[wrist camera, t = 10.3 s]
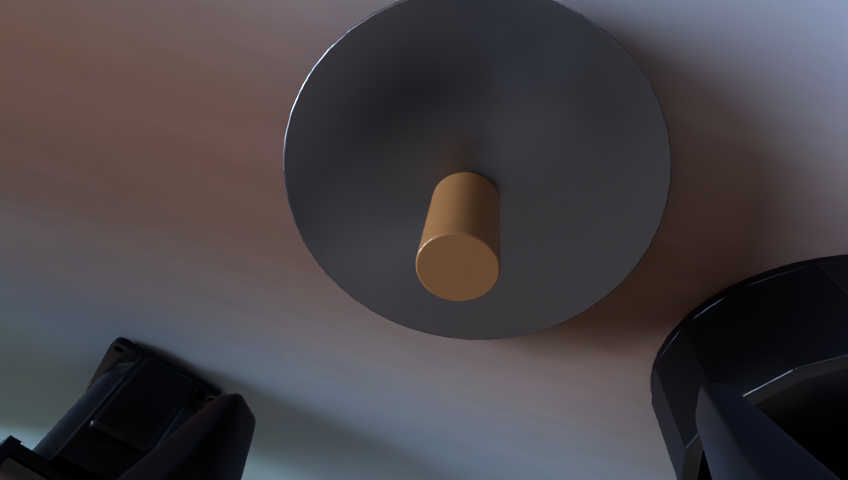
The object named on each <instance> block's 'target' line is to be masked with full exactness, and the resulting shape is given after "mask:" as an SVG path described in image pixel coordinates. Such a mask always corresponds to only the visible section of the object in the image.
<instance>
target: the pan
mask: <svg viewBox="0 0 848 480" xmlns="http://www.w3.org/2000/svg"><path fill="white" fill-rule="evenodd" d="M709 383H725V384H729V385H731V386H732V387H734V388H735V389H736V390H737V391H738V392H739V393H741V394H742V395H743V396H744V397H745V398H746V399H748V400H749V401H750V402H751V403H752V404H753V405H755V406H756V407H757V408H758V409H759V410H760V411H762V412H763V413H764V414H765V415H766V416H767V417H769V418H770V419H771V420H772V421H773V422H774V423H776V424H777V425H778V426H779V427H780V428H781V429H783V430H784V431H785V432H786V433H787V434H788V435H790V436H791V437H792V438H793V439H794V440H795V441H797V442H798V443H799V444H800V445H801V446H802V447H804V448H805V449H806V450H807V451H808V452H809V453H811V454H812V455H813V456H814V457H815V458H816V459H818V460H819V461H820V462H821V463H822V464H823V465H825V466H826V467H827V468H828V469H829V470H830V471H832V472H833V473H834V474H835V475H836V476H837V477H839V478H840V479H841V480H848V255H839V256H830V257H822V258H816V259H811V260H806V261H801V262H797V263H792V264H789V265H786V266H782V267H779V268H775V269H772V270H769V271H766V272H763V273H761V274H758V275H756V276H753V277H751V278H748V279H745V280H743V281H741V282H739V283H737V284H735V285H733V286H731V287H729V288H727V289H725V290H723V291H722V292H720V293H718V294H717V295H715V296H714V297H712V298H710V299H709V300H707V301H705V302H704V303H703V304H701V305H700V306H699V307H698V308H696V309H695V310H694V311H692V312H691V313H690V314H689V315H688V316H686V317H685V318H684V319H683V320H682V321H681V322H680V323H679V324H678V325H677V326H676V327H675V328H674V330H673V331H672V332H671V333H670V335H669V336H668V337H667V338H666V340H665V341H664V343H663V345H662V346H661V348H660V350H659V351H658V353H657V356H656V359H655V361H654V364H653V368H652V373H651V393H652V405H653V408H654V411H655V414H656V417H657V420H658V423H659V426H660V429H661V432H662V435H663V438H664V441H665V444H666V447H667V450H668V453H669V456H670V459H671V462H672V465H673V467H674V470H675V473H676V476H677V479H678V480H712V477H711V473H710V470H709V466H708V463H707V460H706V456H705V453H704V449H703V446H702V442H701V439H700V436H699V432H698V429H697V424H696V408H697V402H698V396H699V390H700V387H701V386H702V385H703V384H709Z"/></svg>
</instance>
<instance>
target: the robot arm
mask: <svg viewBox="0 0 848 480" xmlns="http://www.w3.org/2000/svg"><path fill="white" fill-rule="evenodd" d="M255 424H256V423H255V417H254V415H253V413H252V411H251V410H250V408H249V406H248V405H247V403H246V401H245V400H244V398H243V397H242V396H241V395H240V394H237V393H230V394H223V393H222V392H221V391H219V390H217V389H216V388H214V387H212V386H210V385H209V384H207V383H205V382H203V381H201V380H200V379H198V378H196V377H194V376H192V375H191V374H189V373H187V372H185V371H183V370H182V369H180V368H178V367H176V366H174V365H173V364H171V363H169V362H167V361H165V360H164V359H162V358H160V357H158V356H156V355H155V354H153V353H151V352H149V351H147V350H146V349H144V348H142V347H140V346H138V345H137V344H135V343H133V342H131V341H129V340H128V339H125V338H122V337H119V338H117V339H116V340H115V341H114V342H113V343H112V344H111V345H110V347H109V348H108V350H107V352H106V354H105V356H104V358H103V360H102V362H101V364H100V365H99V367H98V369H97V371H96V373H95V375H94V377H93V379H92V380H91V382H90V384H89V386H88V388H87V390H86V392H85V394H84V395H83V396H82V397H81V398H80V399H79V400H78V401H77V402H76V404H75V405H74V406H73V407H72V408H71V409H70V410H69V411H68V412H67V413H66V414H65V415H64V417H63V418H62V419H61V420H60V421H59V422H58V423H57V424H56V425H55V426H54V427H53V428H52V429H51V431H50V432H49V433H48V434H47V435H46V436H45V437H44V438H43V439H42V440H41V441H40V442H39V444H38V445H37V446H36V447H35V448H34V449H33V450H30V449H28V448H27V447H25V446H23V445H21V444H20V443H21V441H20V440H18V439H16V438H15V437H13V436H11V435H10V436H9V437H7V438H6V439H5V440H4V441H2V442H1V443H0V480H241V478H242V474H243V470H244V467H245V463H246V460H247V456H248V452H249V449H250V445H251V441H252V438H253V434H254V431H255ZM696 424H697V429H698V432H699V436H700V439H701V442H702V446H703V449H704V453H705V456H706V460H707V463H708V466H709V470H710V473H711V477H712V480H841V479H840V478H839V477H837V476H836V475H835V474H834V473H833V472H832V471H830V470H829V469H828V468H827V467H826V466H825V465H823V464H822V463H821V462H820V461H819V460H818V459H816V458H815V457H814V456H813V455H812V454H811V453H809V452H808V451H807V450H806V449H805V448H804V447H802V446H801V445H800V444H799V443H798V442H797V441H795V440H794V439H793V438H792V437H791V436H790V435H788V434H787V433H786V432H785V431H784V430H783V429H781V428H780V427H779V426H778V425H777V424H776V423H774V422H773V421H772V420H771V419H770V418H769V417H767V416H766V415H765V414H764V413H763V412H762V411H760V410H759V409H758V408H757V407H756V406H755V405H753V404H752V403H751V402H750V401H749V400H748V399H746V398H745V397H744V396H743V395H742V394H741V393H739V392H738V391H737V390H736V389H735V388H734V387H732V386H731V385H729V384H725V383H709V384H703V385H702V386H701V387H700V390H699V396H698V402H697V408H696Z"/></svg>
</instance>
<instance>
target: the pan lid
mask: <svg viewBox="0 0 848 480" xmlns="http://www.w3.org/2000/svg"><path fill="white" fill-rule="evenodd" d="M671 159H672V153H671V147H670V140H669V133H668V127H667V124H666V121H665V118H664V115H663V112H662V109H661V106H660V102H659V101H658V99H657V97H656V95H655V93H654V91H653V89H652V87H651V85H650V83H649V81H648V79H647V77H646V76H645V75H644V73H643V72H642V70H641V69H640V68H639V66H638V65H637V64H636V62H635V61H634V60H633V58H632V57H631V56H630V54H629V53H628V52H627V51H626V50H625V49H624V48H623V47H622V46H620V45H619V44H618V43H617V42H616V41H615V40H614V39H613V38H612V37H611V36H610V35H609V34H608V33H607V32H606V31H604V30H603V29H601V28H600V27H599V26H597V25H596V24H594V23H593V22H591V21H590V20H589V19H587V18H586V17H584V16H583V15H582V14H580V13H578V12H576V11H574V10H572V9H570V8H568V7H566V6H564V5H562V4H560V3H558V2H556V1H553V0H400V1H398V2H396V3H394V4H392V5H390V6H387V7H385V8H383V9H381V10H379V11H377V12H375V13H373V14H372V15H370V16H369V17H367V18H366V19H364V20H363V21H361V22H360V23H358V24H357V25H355V26H354V27H352V28H351V29H349V30H348V31H347V32H346V33H345V34H344V35H343V36H342V37H341V38H339V39H338V40H337V41H336V42H335V43H334V44H333V45H332V46H331V47H330V48H329V49H328V50H327V51H326V52H325V54H324V55H323V56H322V57H321V59H320V60H319V61H318V62H317V63H316V65H315V66H314V67H313V69H312V70H311V72H310V74H309V75H308V77H307V79H306V80H305V82H304V84H303V85H302V87H301V89H300V91H299V93H298V96H297V98H296V101H295V103H294V106H293V108H292V111H291V113H290V117H289V122H288V126H287V130H286V134H285V143H284V153H283V168H284V183H285V188H286V194H287V199H288V203H289V206H290V210H291V213H292V216H293V219H294V222H295V224H296V226H297V228H298V230H299V233H300V235H301V237H302V239H303V241H304V243H305V244H306V246H307V247H308V249H309V251H310V252H311V254H312V255H313V257H314V258H315V260H316V261H317V262H318V263H319V265H320V266H321V267H322V268H323V270H324V271H325V272H326V274H327V275H328V276H329V277H330V278H331V279H332V280H333V281H334V282H335V283H336V284H337V285H338V286H339V287H340V288H341V289H343V290H344V291H345V292H346V293H348V294H349V295H350V296H351V297H353V298H354V299H355V300H356V301H358V302H359V303H361V304H362V305H364V306H365V307H367V308H368V309H370V310H372V311H373V312H375V313H377V314H379V315H381V316H383V317H385V318H387V319H388V320H390V321H393V322H395V323H398V324H400V325H403V326H405V327H408V328H410V329H414V330H417V331H421V332H424V333H428V334H432V335H437V336H442V337H448V338H457V339H468V340H490V339H501V338H510V337H516V336H521V335H526V334H531V333H534V332H537V331H541V330H544V329H547V328H550V327H553V326H555V325H558V324H560V323H562V322H565V321H567V320H570V319H571V318H573V317H575V316H577V315H579V314H581V313H582V312H584V311H586V310H588V309H589V308H591V307H592V306H594V305H595V304H596V303H598V302H599V301H601V300H602V299H604V298H605V297H606V296H607V295H609V294H610V293H611V292H612V291H613V290H614V289H615V288H616V287H618V286H619V285H620V284H621V283H622V282H623V281H624V280H625V279H626V277H627V276H628V275H629V274H630V273H631V272H632V271H633V269H634V268H635V267H636V266H637V265H638V263H639V262H640V260H641V259H642V257H643V256H644V254H645V253H646V251H647V250H648V248H649V247H650V245H651V243H652V241H653V239H654V237H655V235H656V233H657V231H658V229H659V227H660V224H661V221H662V218H663V215H664V211H665V208H666V205H667V202H668V196H669V190H670V184H671Z"/></svg>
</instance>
